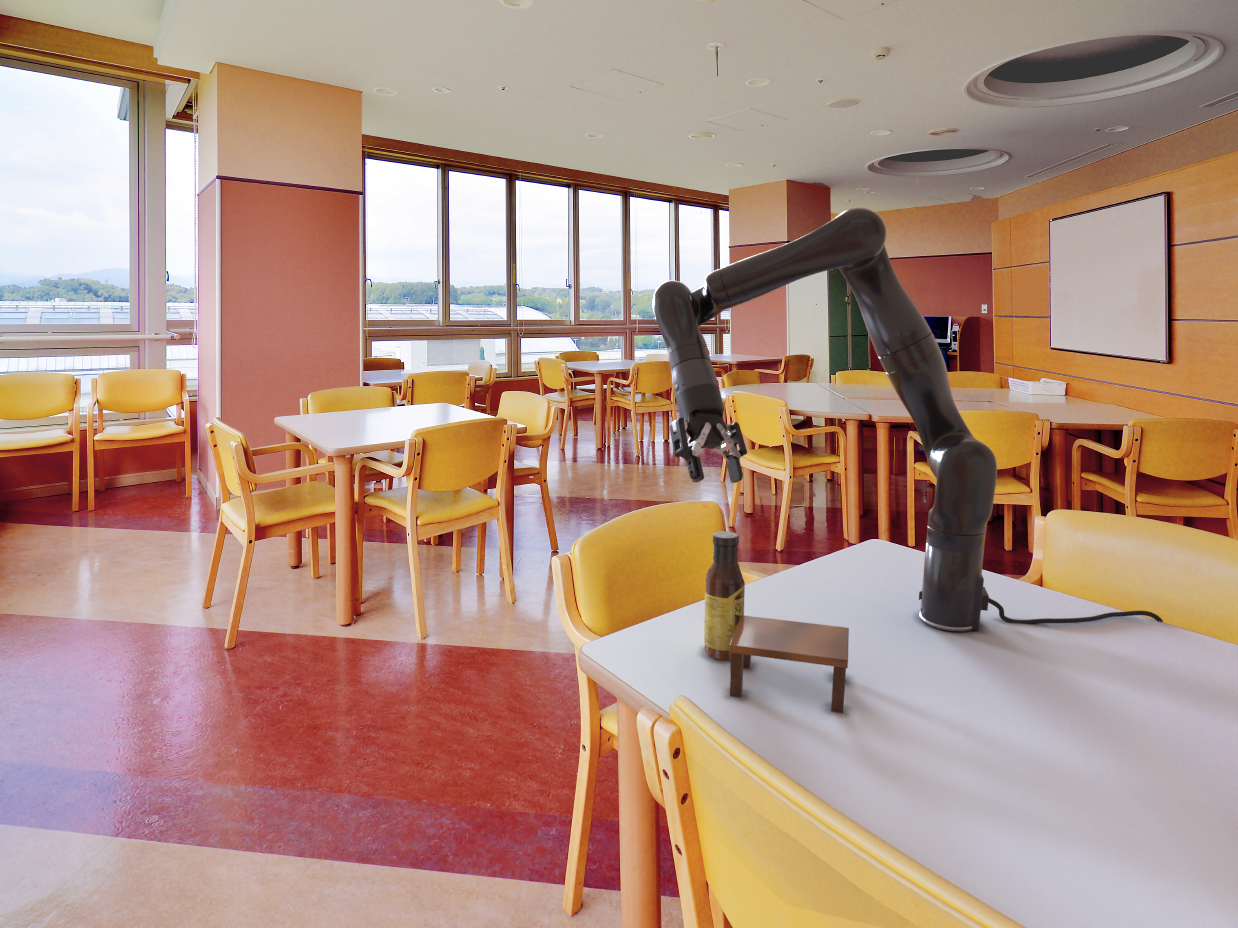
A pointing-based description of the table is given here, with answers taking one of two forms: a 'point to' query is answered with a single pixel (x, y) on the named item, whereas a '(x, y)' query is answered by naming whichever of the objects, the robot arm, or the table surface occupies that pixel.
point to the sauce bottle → (723, 596)
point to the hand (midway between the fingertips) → (718, 481)
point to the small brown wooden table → (790, 649)
